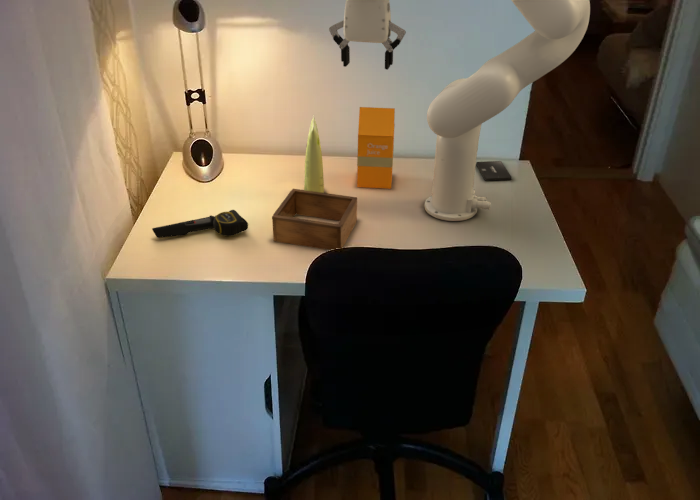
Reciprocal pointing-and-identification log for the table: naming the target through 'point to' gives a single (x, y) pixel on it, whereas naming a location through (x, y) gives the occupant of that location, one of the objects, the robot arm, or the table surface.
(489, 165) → the solid state drive
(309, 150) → the bamboo shoot
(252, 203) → the table surface
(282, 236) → the wooden box
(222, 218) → the tape measure
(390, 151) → the orange juice
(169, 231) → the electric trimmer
